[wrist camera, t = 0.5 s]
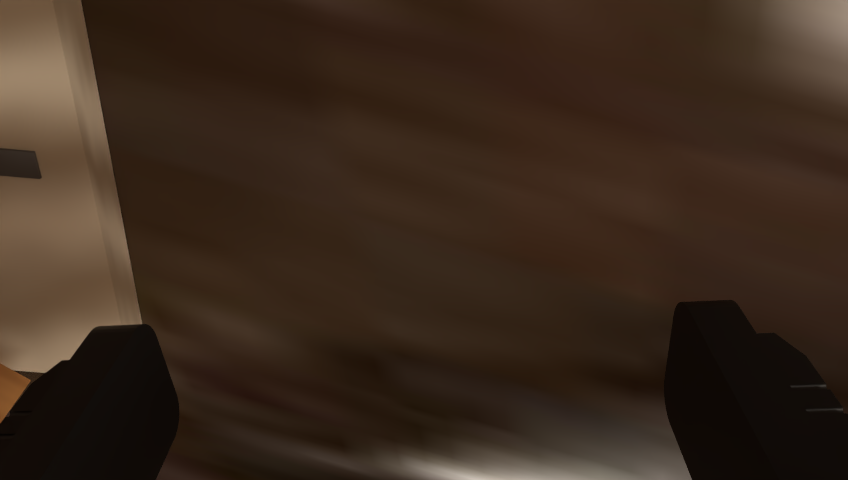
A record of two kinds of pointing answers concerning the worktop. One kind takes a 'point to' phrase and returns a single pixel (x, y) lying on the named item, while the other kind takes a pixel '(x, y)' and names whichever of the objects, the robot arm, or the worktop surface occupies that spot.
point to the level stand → (55, 192)
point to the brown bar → (10, 389)
